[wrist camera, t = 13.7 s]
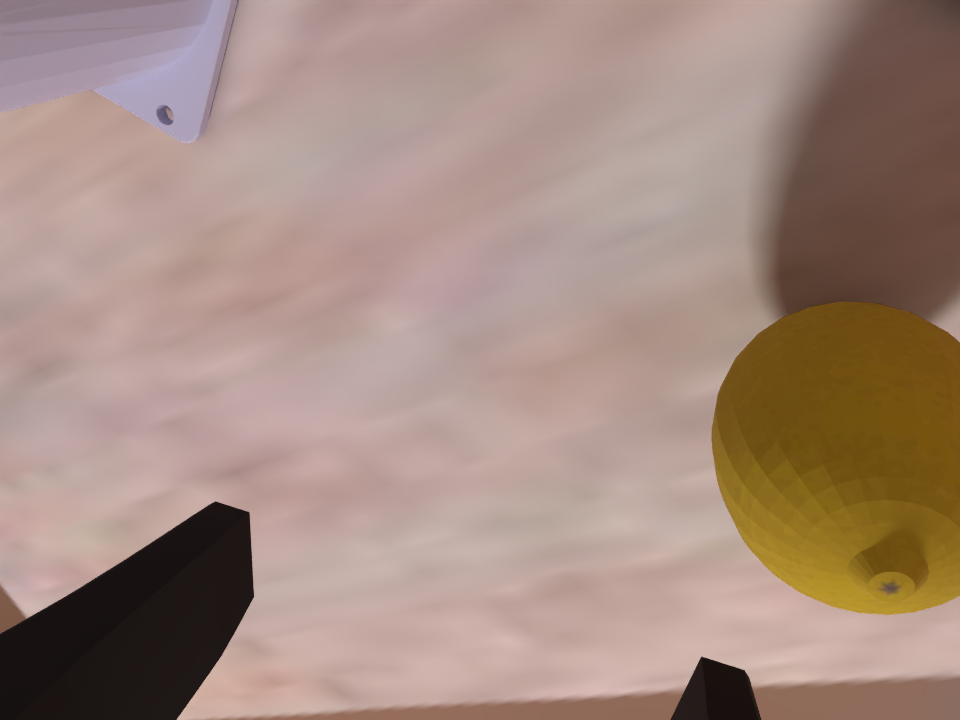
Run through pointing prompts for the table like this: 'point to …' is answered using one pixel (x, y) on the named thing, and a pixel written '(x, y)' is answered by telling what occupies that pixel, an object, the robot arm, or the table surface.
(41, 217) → the table surface
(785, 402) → the lemon
